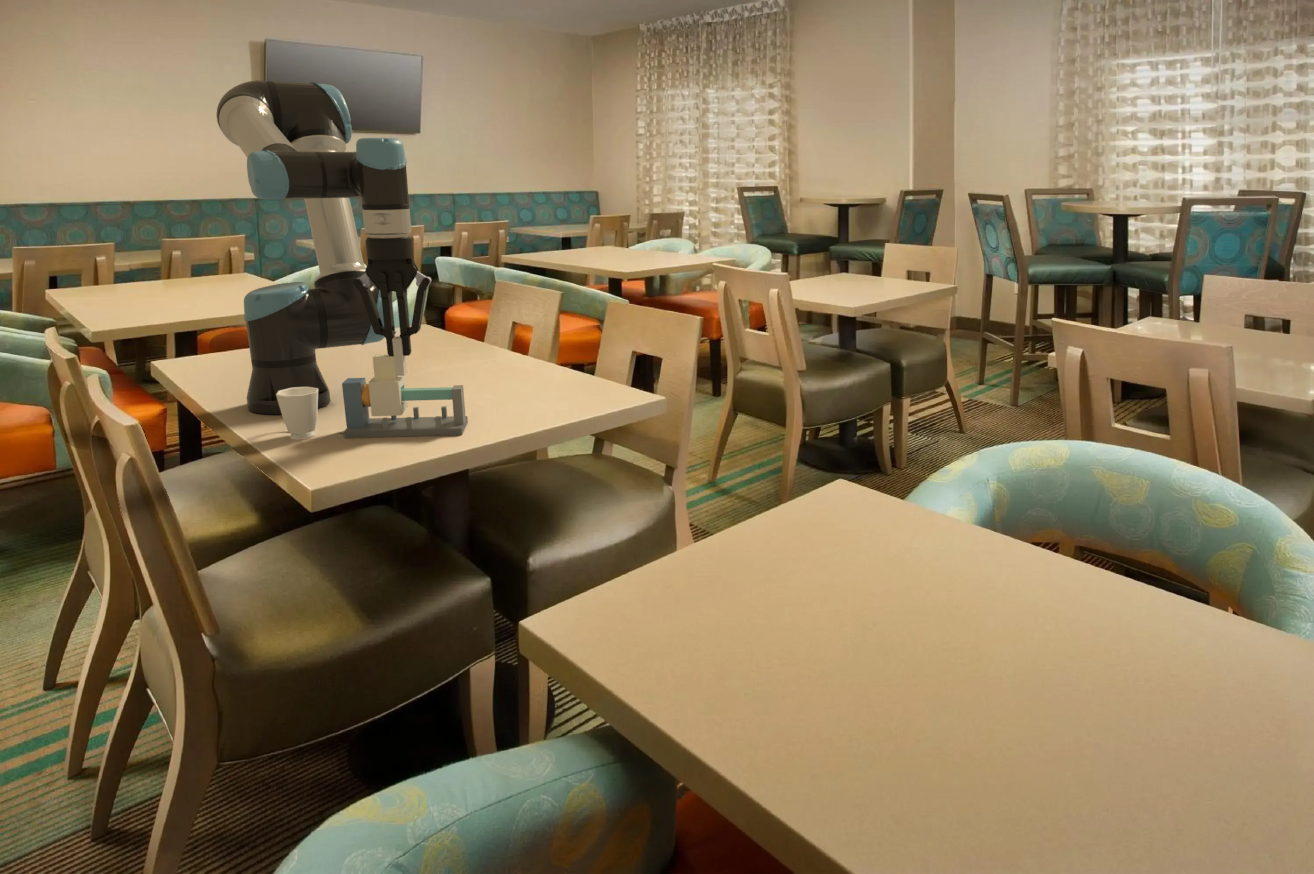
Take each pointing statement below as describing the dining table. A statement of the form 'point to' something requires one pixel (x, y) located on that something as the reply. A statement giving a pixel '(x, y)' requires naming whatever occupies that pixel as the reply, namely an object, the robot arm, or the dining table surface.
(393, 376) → the sleeve
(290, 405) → the cup
